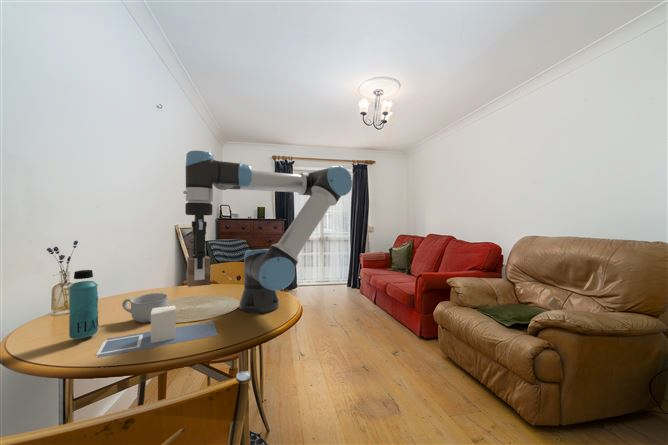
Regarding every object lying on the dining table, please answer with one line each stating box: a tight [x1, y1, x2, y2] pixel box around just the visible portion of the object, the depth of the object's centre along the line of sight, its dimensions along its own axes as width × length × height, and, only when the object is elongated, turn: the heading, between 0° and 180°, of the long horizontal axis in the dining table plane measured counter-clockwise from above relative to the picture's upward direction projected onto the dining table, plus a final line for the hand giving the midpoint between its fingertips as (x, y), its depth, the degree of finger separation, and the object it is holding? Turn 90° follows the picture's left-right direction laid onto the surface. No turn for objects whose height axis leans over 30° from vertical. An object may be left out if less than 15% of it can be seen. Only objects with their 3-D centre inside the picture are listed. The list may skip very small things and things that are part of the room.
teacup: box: [122, 292, 169, 324], centre depth 96 cm, size 14×11×8 cm
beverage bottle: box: [68, 269, 99, 340], centre depth 81 cm, size 6×7×20 cm
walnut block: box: [186, 255, 211, 288], centre depth 86 cm, size 6×6×8 cm
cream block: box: [150, 305, 177, 343], centre depth 82 cm, size 6×6×8 cm
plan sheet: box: [95, 321, 219, 359], centre depth 82 cm, size 29×13×1 cm, turn 120°
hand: (198, 277), depth 86 cm, fingers closed on walnut block, 6 cm apart
